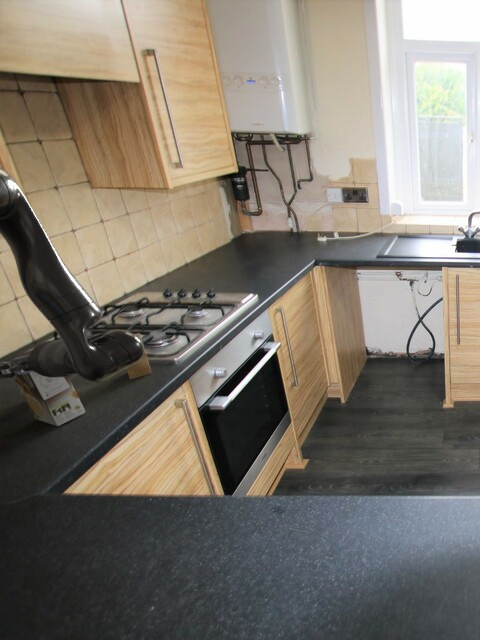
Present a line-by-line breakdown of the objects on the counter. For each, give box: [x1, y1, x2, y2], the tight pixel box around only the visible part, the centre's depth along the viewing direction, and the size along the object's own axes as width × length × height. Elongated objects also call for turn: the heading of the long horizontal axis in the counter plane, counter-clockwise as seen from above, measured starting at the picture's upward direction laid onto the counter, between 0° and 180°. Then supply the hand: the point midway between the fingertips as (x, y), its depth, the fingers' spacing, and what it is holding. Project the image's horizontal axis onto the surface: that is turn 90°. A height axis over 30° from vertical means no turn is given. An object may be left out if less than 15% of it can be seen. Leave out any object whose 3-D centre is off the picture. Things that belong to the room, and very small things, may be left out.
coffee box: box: [2, 349, 86, 427], centre depth 110 cm, size 9×6×16 cm
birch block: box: [125, 332, 152, 380], centre depth 131 cm, size 5×5×12 cm
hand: (26, 361), depth 100 cm, fingers open, 8 cm apart
